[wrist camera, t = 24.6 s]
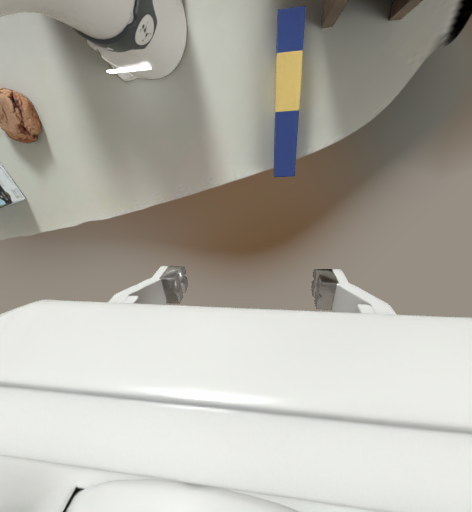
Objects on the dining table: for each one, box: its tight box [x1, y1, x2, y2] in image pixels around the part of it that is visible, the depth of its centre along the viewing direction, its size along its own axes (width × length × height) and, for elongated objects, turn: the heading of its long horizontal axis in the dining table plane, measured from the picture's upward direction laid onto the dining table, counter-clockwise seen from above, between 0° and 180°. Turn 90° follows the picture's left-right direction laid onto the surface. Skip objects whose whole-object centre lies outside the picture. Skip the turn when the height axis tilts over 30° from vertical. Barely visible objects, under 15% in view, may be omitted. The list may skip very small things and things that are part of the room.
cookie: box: [0, 88, 41, 143], centre depth 47 cm, size 10×11×3 cm
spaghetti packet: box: [274, 6, 306, 177], centre depth 40 cm, size 24×4×4 cm, turn 3°
